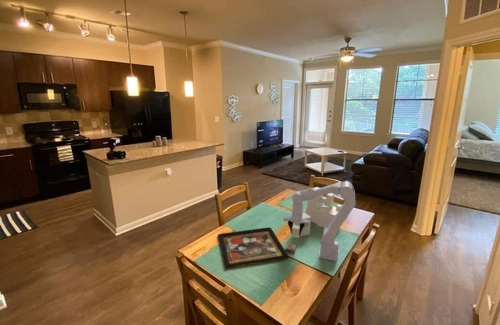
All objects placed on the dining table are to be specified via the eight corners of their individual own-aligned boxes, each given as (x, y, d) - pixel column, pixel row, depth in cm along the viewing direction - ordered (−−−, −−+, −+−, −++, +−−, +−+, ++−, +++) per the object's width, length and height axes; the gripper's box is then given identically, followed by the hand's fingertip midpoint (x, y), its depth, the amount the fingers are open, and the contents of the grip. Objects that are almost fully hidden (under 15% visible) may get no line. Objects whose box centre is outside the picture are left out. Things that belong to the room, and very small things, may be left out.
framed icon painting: (267, 226, 167) (267, 223, 166) (294, 258, 135) (294, 254, 134) (212, 238, 154) (212, 234, 153) (227, 276, 122) (227, 271, 121)
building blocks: (339, 224, 170) (343, 190, 163) (332, 231, 161) (336, 196, 154) (311, 214, 183) (314, 183, 176) (303, 220, 174) (306, 187, 168)
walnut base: (295, 248, 143) (296, 244, 143) (294, 254, 138) (294, 250, 138) (286, 246, 145) (286, 243, 144) (284, 252, 140) (285, 248, 139)
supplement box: (300, 237, 154) (301, 219, 150) (293, 231, 161) (294, 213, 157) (310, 234, 157) (311, 217, 153) (303, 229, 163) (304, 212, 160)
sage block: (299, 234, 142) (300, 226, 141) (298, 238, 139) (299, 229, 137) (292, 233, 144) (293, 224, 142) (291, 236, 140) (292, 228, 139)
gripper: (311, 211, 138) (309, 232, 142) (285, 207, 143) (284, 227, 147) (309, 216, 132) (308, 238, 136) (283, 212, 137) (282, 233, 140)
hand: (295, 233), depth 141 cm, fingers closed on sage block, 4 cm apart
